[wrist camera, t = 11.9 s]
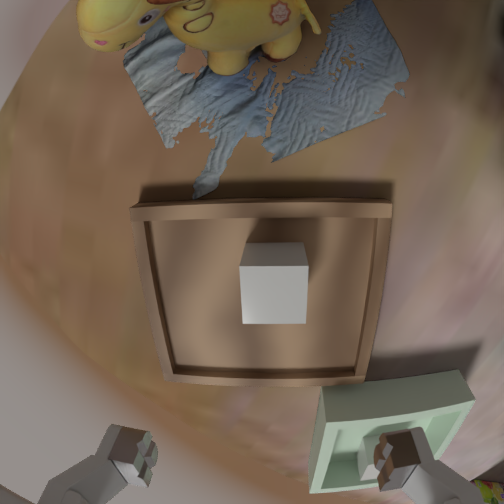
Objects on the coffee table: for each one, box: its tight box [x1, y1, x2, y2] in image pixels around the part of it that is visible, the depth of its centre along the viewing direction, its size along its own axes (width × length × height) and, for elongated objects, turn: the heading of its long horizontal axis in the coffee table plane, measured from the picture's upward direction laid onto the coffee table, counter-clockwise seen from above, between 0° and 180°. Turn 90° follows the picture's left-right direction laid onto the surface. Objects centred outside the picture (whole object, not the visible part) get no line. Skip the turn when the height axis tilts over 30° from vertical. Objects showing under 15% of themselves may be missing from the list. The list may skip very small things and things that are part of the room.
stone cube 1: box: [356, 435, 380, 481], centre depth 28 cm, size 4×4×4 cm
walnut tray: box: [129, 197, 393, 387], centre depth 24 cm, size 18×16×2 cm
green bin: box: [308, 369, 476, 493], centre depth 28 cm, size 15×15×5 cm
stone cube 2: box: [239, 242, 309, 324], centre depth 21 cm, size 4×4×4 cm
